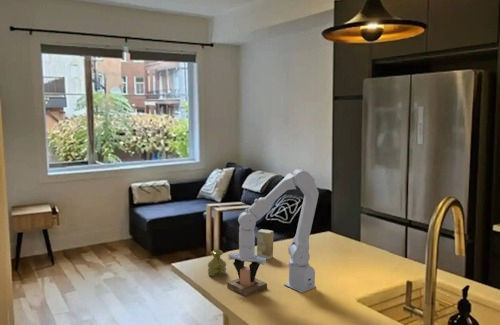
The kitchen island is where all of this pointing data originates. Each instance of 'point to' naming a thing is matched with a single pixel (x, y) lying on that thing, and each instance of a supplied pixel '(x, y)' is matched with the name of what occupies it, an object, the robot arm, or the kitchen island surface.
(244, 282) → the peg
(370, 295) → the kitchen island surface
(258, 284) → the socket block
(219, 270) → the olive green textured figure
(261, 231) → the skincare box
